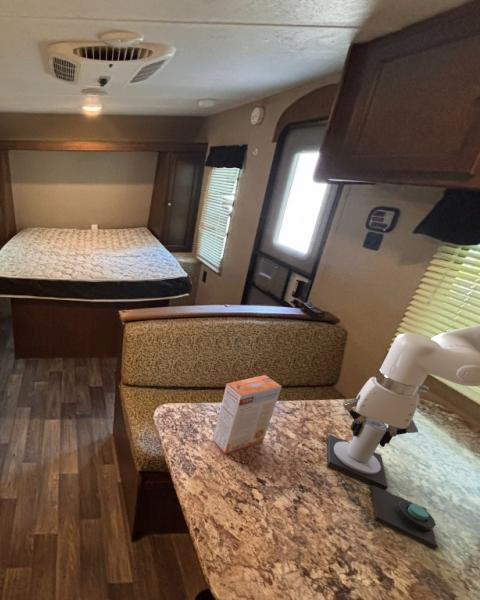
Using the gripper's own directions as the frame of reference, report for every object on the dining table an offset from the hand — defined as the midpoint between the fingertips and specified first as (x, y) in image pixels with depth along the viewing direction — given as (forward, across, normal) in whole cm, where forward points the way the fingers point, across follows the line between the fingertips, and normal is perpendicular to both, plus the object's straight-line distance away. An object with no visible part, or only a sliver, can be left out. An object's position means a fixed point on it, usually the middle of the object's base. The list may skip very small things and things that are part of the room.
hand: (367, 437), depth 84 cm
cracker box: (+10, +28, +12) cm, 32 cm away
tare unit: (+10, -8, +12) cm, 17 cm away
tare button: (+7, -10, +12) cm, 17 cm away
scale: (+10, 0, 0) cm, 10 cm away
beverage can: (+7, 0, 0) cm, 7 cm away
